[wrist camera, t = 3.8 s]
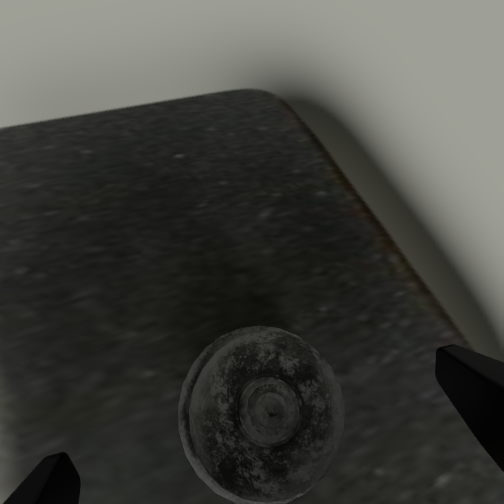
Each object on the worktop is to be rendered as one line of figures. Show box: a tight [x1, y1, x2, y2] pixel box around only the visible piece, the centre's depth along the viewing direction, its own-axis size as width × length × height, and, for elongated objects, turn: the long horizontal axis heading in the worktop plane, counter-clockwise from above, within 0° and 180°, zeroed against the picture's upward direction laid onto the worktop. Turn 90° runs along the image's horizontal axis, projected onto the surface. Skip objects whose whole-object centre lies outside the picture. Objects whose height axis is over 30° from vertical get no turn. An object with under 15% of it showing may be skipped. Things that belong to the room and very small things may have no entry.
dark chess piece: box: [178, 325, 345, 504], centre depth 10 cm, size 6×6×12 cm
